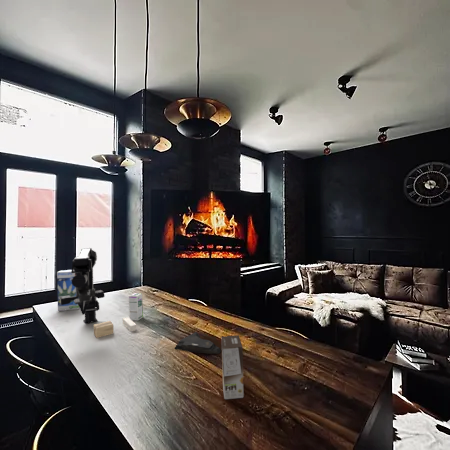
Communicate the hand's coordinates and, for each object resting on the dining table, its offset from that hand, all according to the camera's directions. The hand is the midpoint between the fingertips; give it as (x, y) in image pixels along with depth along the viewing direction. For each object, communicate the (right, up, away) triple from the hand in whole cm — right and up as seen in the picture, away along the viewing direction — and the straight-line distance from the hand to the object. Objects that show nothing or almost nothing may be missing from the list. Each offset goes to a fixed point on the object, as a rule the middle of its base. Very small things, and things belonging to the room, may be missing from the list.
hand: (83, 314), depth 127 cm
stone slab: (+58, -11, -11) cm, 60 cm away
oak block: (+7, -12, +5) cm, 15 cm away
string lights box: (-35, -13, +48) cm, 61 cm away
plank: (+18, -12, +13) cm, 25 cm away
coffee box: (+72, -11, -42) cm, 84 cm away
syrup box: (+17, -12, +26) cm, 33 cm away
